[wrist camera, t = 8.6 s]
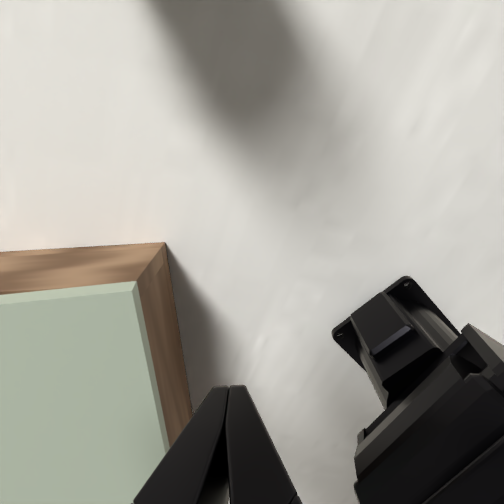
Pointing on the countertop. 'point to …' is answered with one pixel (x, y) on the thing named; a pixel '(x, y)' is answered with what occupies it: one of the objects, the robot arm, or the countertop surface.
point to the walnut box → (107, 272)
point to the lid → (77, 397)
